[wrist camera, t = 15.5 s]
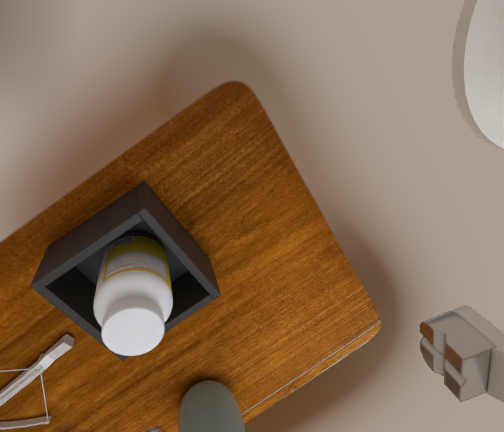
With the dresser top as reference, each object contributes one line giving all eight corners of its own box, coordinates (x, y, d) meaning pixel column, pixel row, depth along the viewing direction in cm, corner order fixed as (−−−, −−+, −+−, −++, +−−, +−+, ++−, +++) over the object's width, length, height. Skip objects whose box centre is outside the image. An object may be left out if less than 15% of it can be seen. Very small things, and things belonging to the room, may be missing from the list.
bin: (144, 180, 37) (145, 207, 31) (210, 259, 43) (221, 295, 37) (47, 246, 37) (29, 286, 31) (125, 316, 43) (122, 361, 37)
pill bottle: (132, 294, 41) (129, 378, 31) (87, 255, 38) (67, 335, 28) (180, 258, 41) (192, 331, 30) (138, 217, 38) (137, 283, 27)
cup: (211, 419, 53) (225, 493, 45) (164, 405, 50) (168, 483, 41) (244, 380, 52) (265, 449, 43) (197, 363, 48) (209, 435, 40)
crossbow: (21, 434, 47) (16, 451, 45) (-83, 391, 41) (-94, 408, 39) (115, 361, 45) (113, 375, 43) (19, 304, 39) (12, 318, 37)
